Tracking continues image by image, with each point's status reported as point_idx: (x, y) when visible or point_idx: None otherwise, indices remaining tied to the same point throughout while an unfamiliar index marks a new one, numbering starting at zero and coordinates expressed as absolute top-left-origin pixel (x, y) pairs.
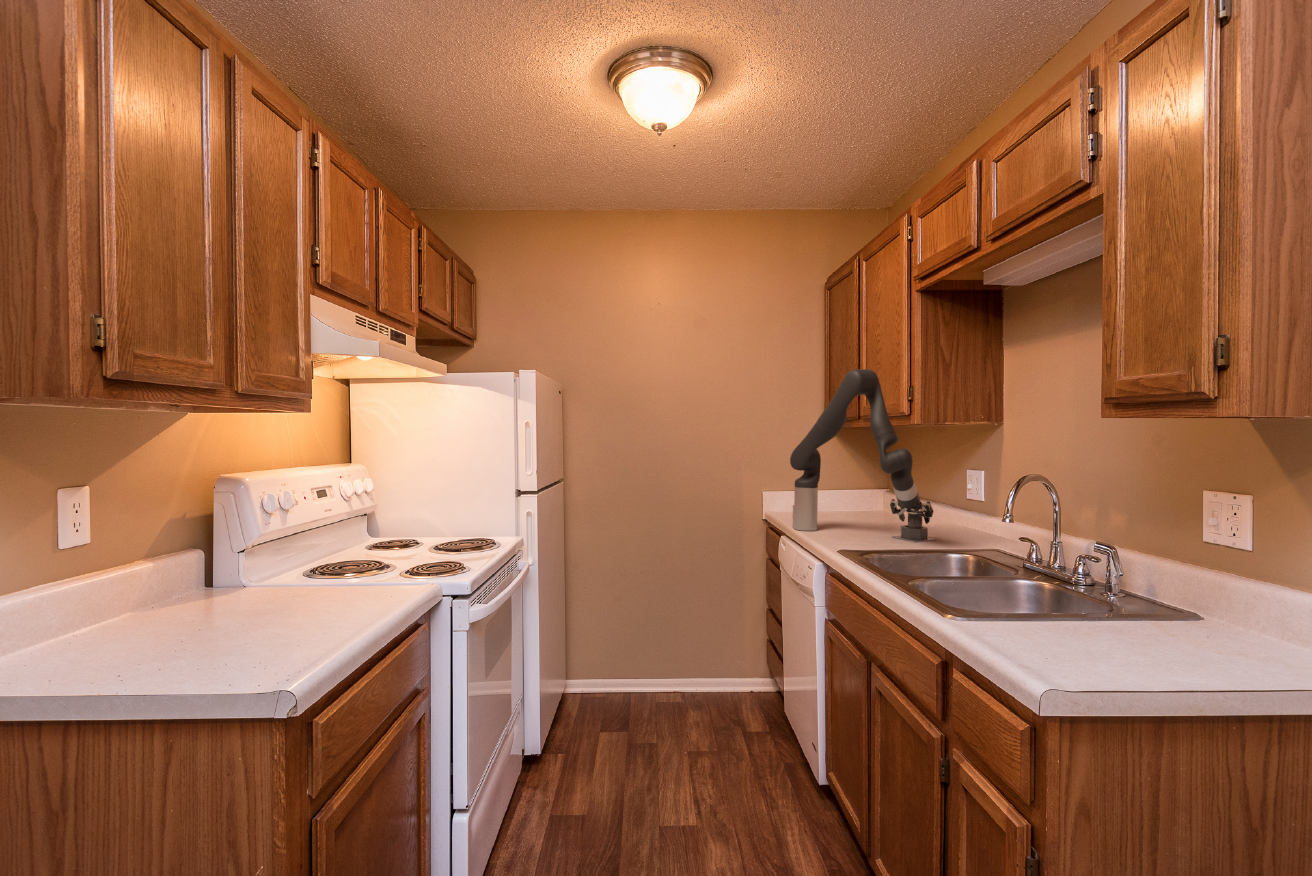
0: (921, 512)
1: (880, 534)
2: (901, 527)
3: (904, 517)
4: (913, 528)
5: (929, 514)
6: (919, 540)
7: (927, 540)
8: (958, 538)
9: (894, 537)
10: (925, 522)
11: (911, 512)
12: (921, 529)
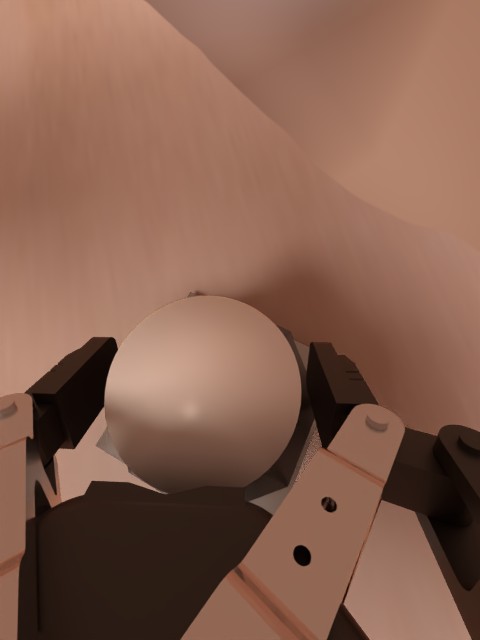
0: (349, 587)
1: (30, 342)
2: (131, 472)
3: (108, 355)
4: None
5: (457, 555)
6: (281, 501)
7: (311, 434)
8: (383, 215)
9: (116, 456)
10: (311, 398)
11: (174, 492)
12: (292, 474)
